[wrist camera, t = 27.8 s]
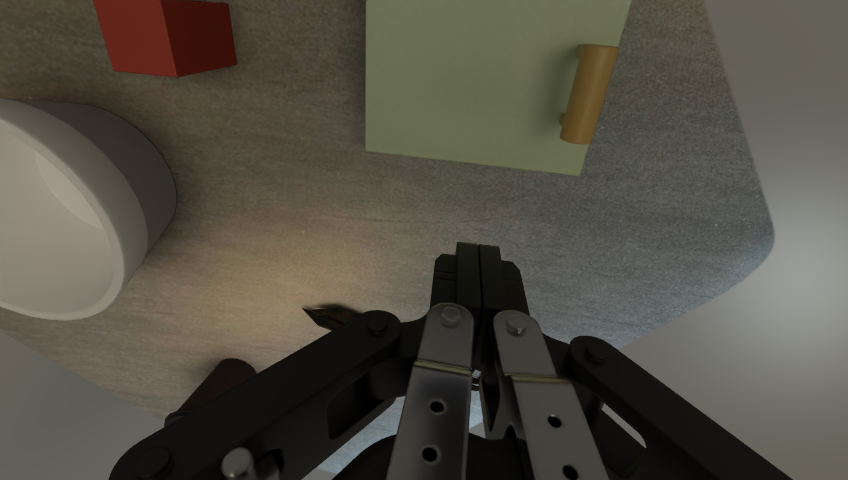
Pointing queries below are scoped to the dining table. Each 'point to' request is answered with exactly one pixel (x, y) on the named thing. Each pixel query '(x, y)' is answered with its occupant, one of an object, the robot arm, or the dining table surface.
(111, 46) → the block
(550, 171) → the lid
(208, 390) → the coffee cup
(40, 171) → the bowl
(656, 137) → the dining table surface
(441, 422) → the robot arm
